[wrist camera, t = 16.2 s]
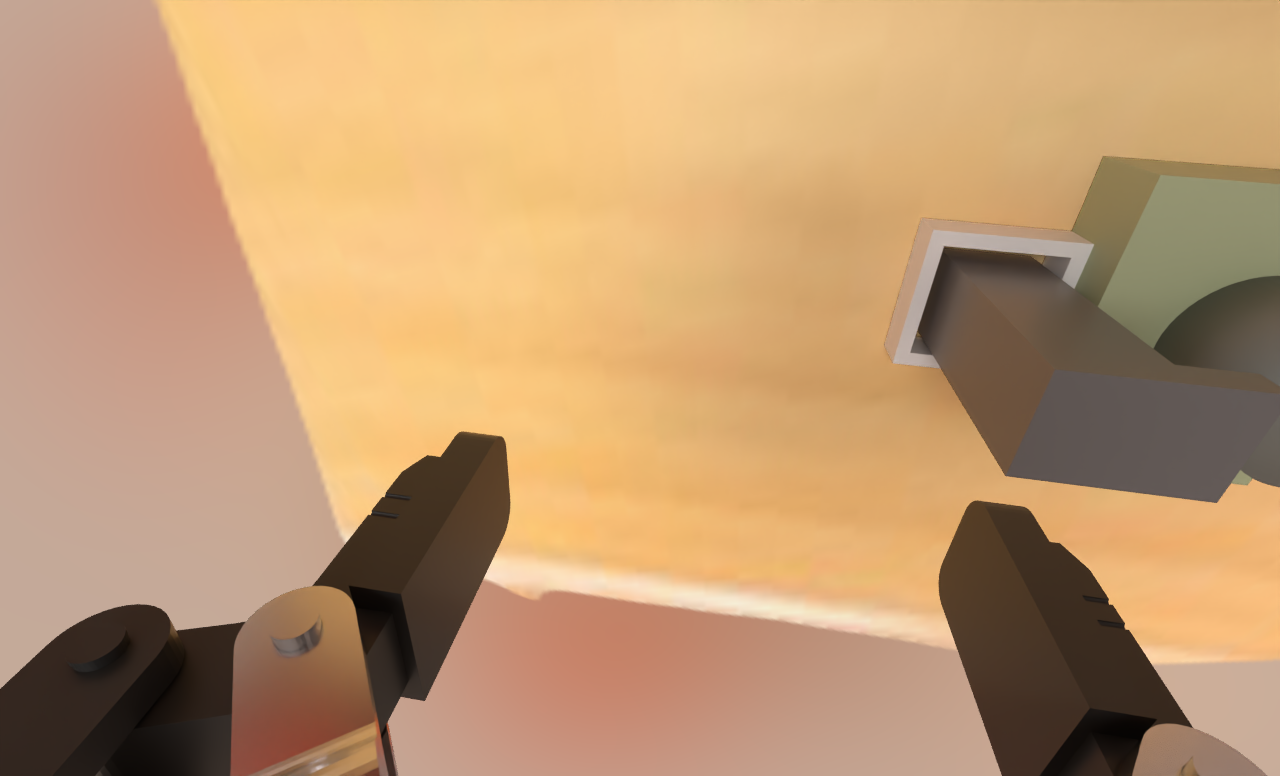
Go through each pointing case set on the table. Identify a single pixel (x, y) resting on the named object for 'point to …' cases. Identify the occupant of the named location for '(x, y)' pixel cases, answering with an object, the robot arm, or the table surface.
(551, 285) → the table surface
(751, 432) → the table surface
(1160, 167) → the green block with cylinder
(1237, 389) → the dark grey angled block
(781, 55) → the table surface
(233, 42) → the table surface
